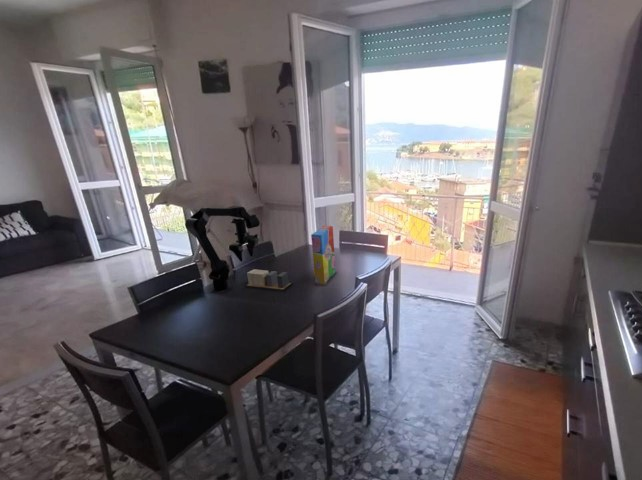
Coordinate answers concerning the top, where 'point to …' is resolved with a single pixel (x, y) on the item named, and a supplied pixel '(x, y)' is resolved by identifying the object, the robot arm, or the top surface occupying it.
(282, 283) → the grey book
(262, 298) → the top surface
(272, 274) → the grey book
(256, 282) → the cream book
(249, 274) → the cream book
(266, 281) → the book stand
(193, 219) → the robot arm
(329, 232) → the game box
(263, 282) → the cream book
